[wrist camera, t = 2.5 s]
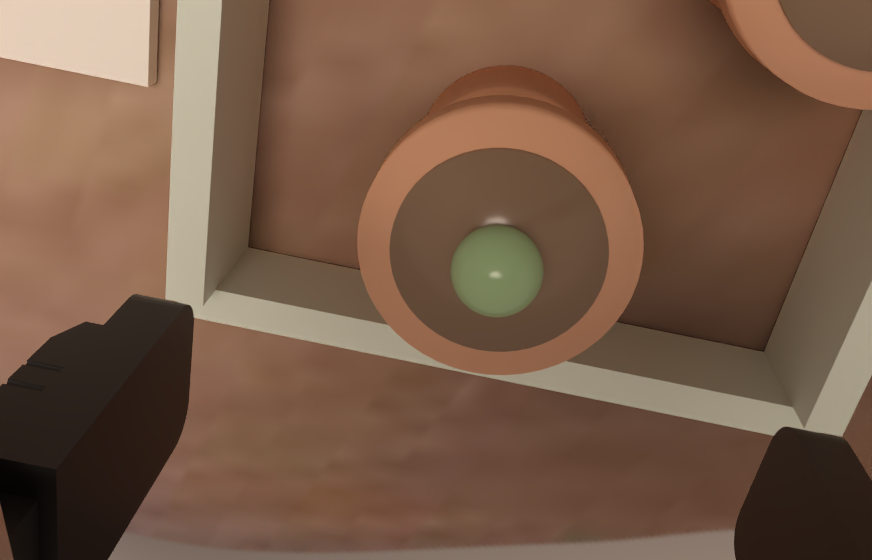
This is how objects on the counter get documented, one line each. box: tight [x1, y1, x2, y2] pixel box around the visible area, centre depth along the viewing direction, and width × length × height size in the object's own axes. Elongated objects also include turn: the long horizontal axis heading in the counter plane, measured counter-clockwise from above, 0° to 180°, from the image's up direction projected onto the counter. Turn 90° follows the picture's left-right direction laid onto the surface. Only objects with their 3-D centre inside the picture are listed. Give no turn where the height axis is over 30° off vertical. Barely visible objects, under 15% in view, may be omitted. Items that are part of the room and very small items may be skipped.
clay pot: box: [357, 66, 644, 375], centre depth 19 cm, size 6×6×9 cm
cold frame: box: [165, 0, 872, 436], centre depth 14 cm, size 18×17×18 cm
